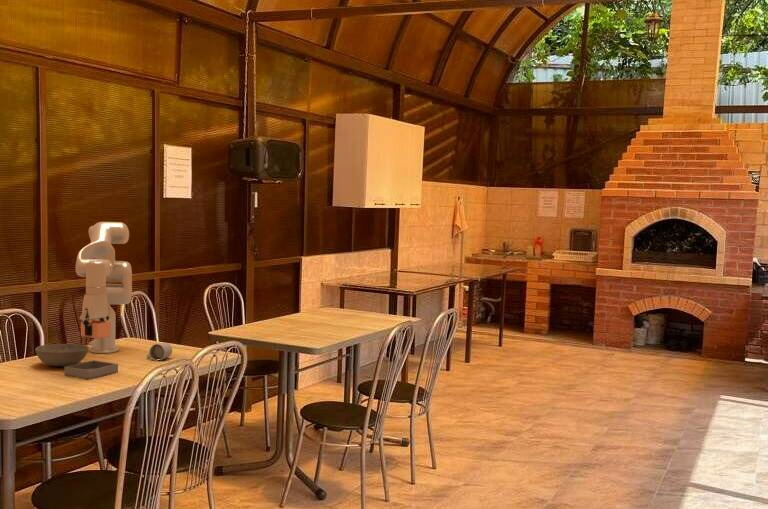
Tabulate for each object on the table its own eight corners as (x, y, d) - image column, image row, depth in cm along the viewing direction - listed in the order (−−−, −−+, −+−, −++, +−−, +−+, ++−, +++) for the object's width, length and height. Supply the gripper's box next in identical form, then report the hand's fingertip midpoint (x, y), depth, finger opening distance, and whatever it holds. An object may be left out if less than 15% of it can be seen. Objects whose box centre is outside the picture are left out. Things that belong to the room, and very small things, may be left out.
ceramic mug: (173, 358, 341) (173, 341, 341) (164, 361, 333) (164, 344, 333) (152, 356, 343) (152, 340, 343) (142, 360, 335) (142, 343, 335)
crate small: (80, 336, 305) (80, 322, 304) (93, 334, 311) (93, 320, 311) (97, 338, 301) (97, 324, 301) (110, 336, 308) (110, 321, 307)
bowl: (26, 364, 319) (26, 346, 318) (74, 358, 334) (75, 340, 334) (48, 373, 304) (48, 353, 304) (97, 366, 320) (97, 347, 319)
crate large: (64, 375, 301) (64, 366, 301) (93, 368, 315) (93, 360, 315) (89, 379, 296) (89, 370, 296) (117, 372, 310) (118, 363, 310)
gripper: (104, 288, 315) (104, 330, 316) (72, 292, 299) (72, 336, 300) (118, 289, 312) (118, 332, 313) (86, 293, 296) (86, 338, 297)
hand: (95, 333), depth 306 cm, fingers closed on crate small, 7 cm apart
